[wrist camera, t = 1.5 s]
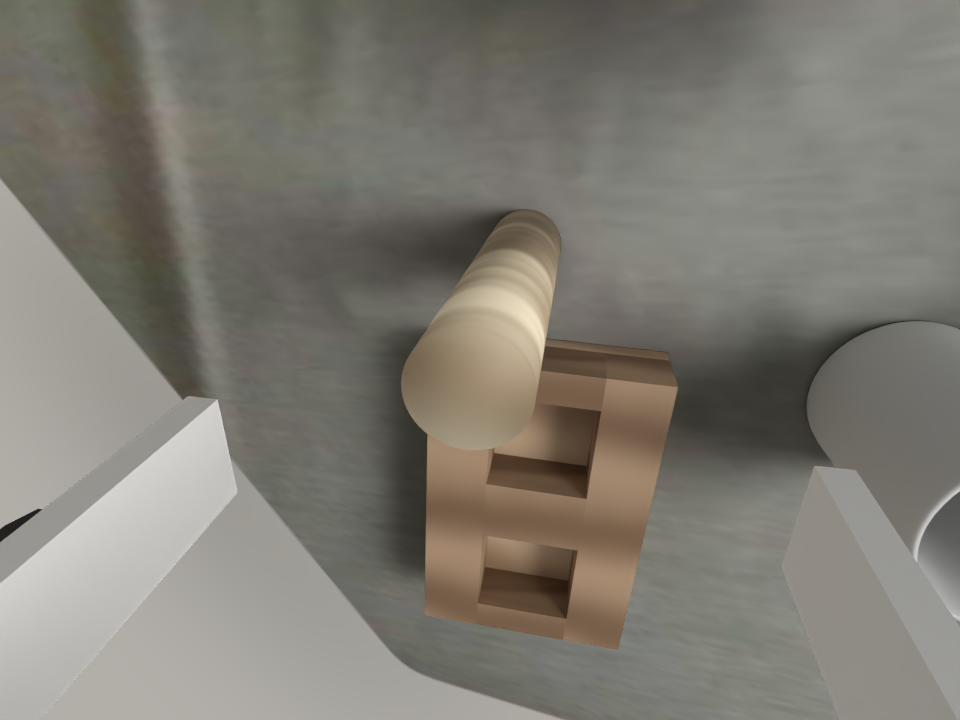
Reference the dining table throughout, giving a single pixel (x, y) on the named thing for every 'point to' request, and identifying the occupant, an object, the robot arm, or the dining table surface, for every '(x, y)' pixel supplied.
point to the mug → (901, 435)
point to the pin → (488, 340)
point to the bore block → (553, 501)
